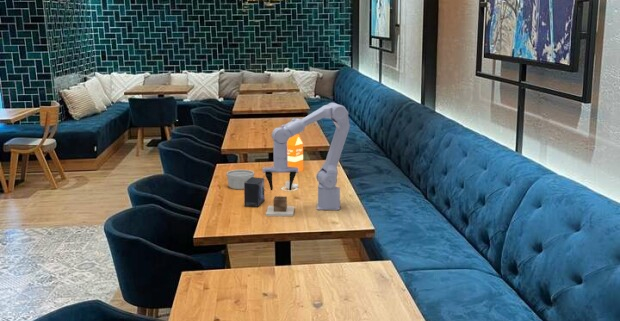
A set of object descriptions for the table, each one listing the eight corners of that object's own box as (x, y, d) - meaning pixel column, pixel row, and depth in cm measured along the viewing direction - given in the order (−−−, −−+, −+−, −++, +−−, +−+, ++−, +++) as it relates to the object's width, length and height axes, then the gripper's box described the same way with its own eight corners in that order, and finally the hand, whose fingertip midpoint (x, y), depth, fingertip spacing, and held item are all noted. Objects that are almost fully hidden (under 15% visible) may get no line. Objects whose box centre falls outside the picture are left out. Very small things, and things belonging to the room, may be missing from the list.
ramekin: (257, 183, 289) (257, 169, 288) (250, 190, 276) (250, 176, 275) (231, 182, 291) (231, 168, 290) (223, 189, 279) (222, 175, 277)
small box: (258, 207, 251) (258, 183, 248) (243, 206, 252) (243, 182, 250) (265, 200, 261) (265, 177, 258) (251, 199, 262) (250, 176, 260)
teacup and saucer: (296, 186, 285) (296, 178, 284) (301, 190, 278) (301, 182, 277) (279, 188, 282) (279, 179, 281) (283, 192, 275) (283, 184, 274)
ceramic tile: (294, 208, 249) (294, 205, 249) (293, 216, 239) (293, 213, 239) (268, 208, 250) (268, 205, 250) (265, 216, 239) (265, 213, 239)
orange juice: (295, 173, 310) (294, 135, 305) (281, 170, 315) (280, 133, 310) (303, 170, 316) (303, 133, 312) (289, 168, 321) (289, 131, 317)
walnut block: (286, 208, 246) (286, 196, 245) (285, 211, 241) (285, 199, 240) (274, 207, 246) (274, 196, 245) (273, 211, 242) (273, 199, 240)
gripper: (261, 159, 236) (262, 192, 239) (298, 159, 236) (298, 192, 239) (263, 155, 243) (264, 187, 246) (298, 155, 243) (298, 187, 246)
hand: (281, 189), depth 243 cm, fingers open, 7 cm apart
